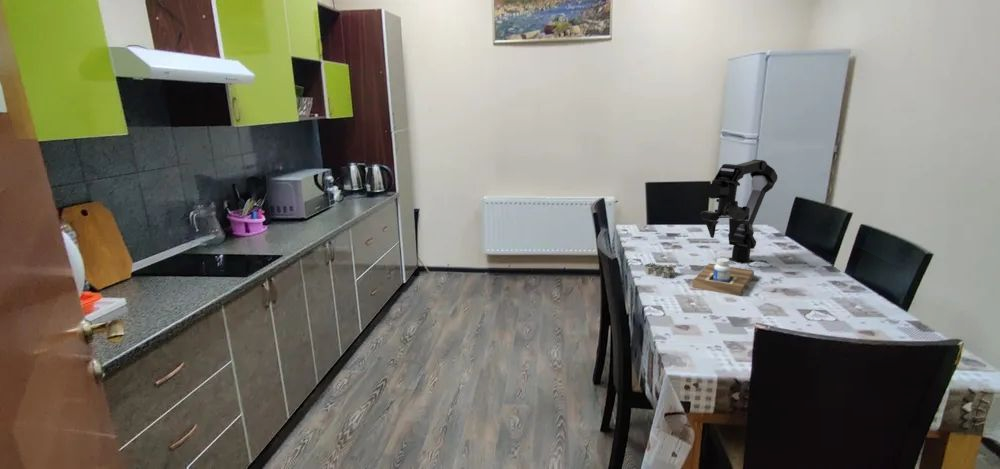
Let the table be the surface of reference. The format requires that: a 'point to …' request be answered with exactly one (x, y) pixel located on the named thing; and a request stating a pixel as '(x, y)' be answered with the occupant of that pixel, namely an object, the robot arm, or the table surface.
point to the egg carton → (660, 270)
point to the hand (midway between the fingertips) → (721, 237)
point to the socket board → (734, 287)
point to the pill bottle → (722, 270)
